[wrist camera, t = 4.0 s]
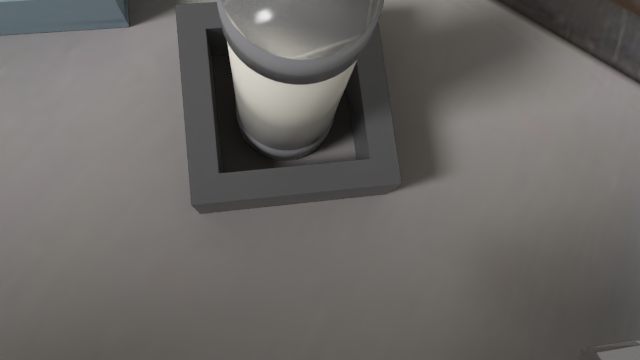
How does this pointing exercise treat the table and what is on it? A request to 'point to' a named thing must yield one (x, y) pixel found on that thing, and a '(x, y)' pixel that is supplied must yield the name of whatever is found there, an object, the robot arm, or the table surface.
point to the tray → (61, 15)
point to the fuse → (292, 67)
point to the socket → (285, 182)
